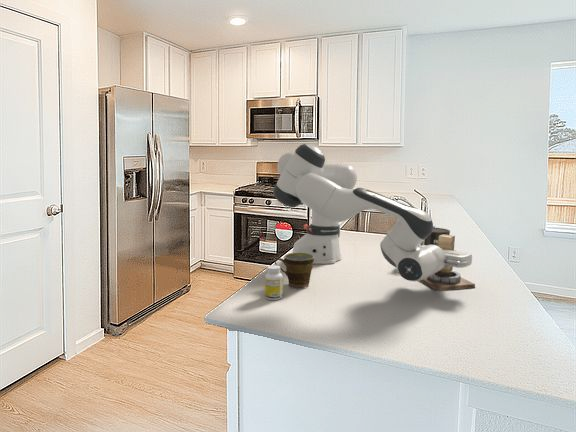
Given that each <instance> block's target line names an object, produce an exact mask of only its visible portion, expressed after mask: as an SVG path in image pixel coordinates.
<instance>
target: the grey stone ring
mask: <svg viewBox="0 0 576 432" xmlns="http://www.w3.org/2000/svg"><path fill="white" fill-rule="evenodd" d="M442 276H448V277H442ZM461 276H462V275H461V273H459V272H457V271H454V270H452V271H450V272H449V273H447V272H442V271H438V272H436V273H435V274H432V275H431V276H429V279H430V280H431V281H433V282H438V283H443V284H456V283H459V282H460V280H461V278H462V277H461Z"/></svg>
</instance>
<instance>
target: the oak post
mask: <svg viewBox="0 0 576 432" xmlns="http://www.w3.org/2000/svg"><path fill="white" fill-rule="evenodd" d="M455 239H456V236H455V235H451V234H450V235H445V234H443V235H440V236H439V240H438V247H440V248H441V249H445V250H451V251H452V250H455ZM453 269H454V267H451V266H446V265H445V266H444V268H443V269H442V270H440V271H442V272H447V273H449V272H450V271H454V270H453Z"/></svg>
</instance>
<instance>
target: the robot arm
mask: <svg viewBox="0 0 576 432" xmlns="http://www.w3.org/2000/svg"><path fill="white" fill-rule="evenodd" d="M325 162H326V158H325V155H324V154H323V152H322V151H321V150H320V148H319V147H317V146H315V145H313V144H306V143H303V144H300V145H299V146H297V148H296V149H295V150H294V152H287V153H283V154H282V155H281V156H280V157H279V159H278V161H277V171H278V173H279V178H278V180H277V183H275V185H274V187H273V191H272V195H273V197H274V199H275V200H276V201H278V203H280V204H281V205H282V206H284V207H285V206H286V207H288V208H295V207H296V208H297V207H298V206H302V205H305V206H306V207H307V208H309V209H310V210H311V223H310V224H309V225H308V224H307V223H306V224H304V225H303V228H304V229H305V230H306V233H305V234H304V235H303V236H301V237H300V238H299V239H298V240H296V241H294V244H293V248H292V253H307V254H311V255H313V256H314V262H313V265H314V264H315V265H317V264H319V265H321V264H325V265H326V264H327V265H329V264H334V263H336V262H338V261H341V260H342V259H343V257H342V254H341V247H340V239H339V238H340V235H341V227H340V223H342V222H345V221H348V220H350V219H351V218H353V217H355V216H356V215H358V214H359V213H361V212H364V211H366V210H375V211H378V212H380V213H383V214H385V215H387V216H389V217H392V218H394V219H396V220H397V221H396V222H395V224H394V225H393V226H392V228H391V229H390V230H389V231H388V232H387V233H386V235H385V236H384V237H383V239H382V240H381V242H380V244H379V245H380V246H379V247H380V251H381V254H382V257H383V258H384V259H385V260H386V261H387V263H389V264H390V265H391V266H393V267H395V269H396V270H397V273H398V275H399V276H400V277H402V278H403V279H404V280H406V281H410V282H419V281H420V280H423V279H425V278H427V277H429V276H431V275H432V274H435V273H436V272H438V271H440V270H442V269H443V268H444V266H445V265H446V266H451V267H453V268H459V269H462V268H466V267H469V266H471V265H472V262H473V255H472V253H469V252H463V251H457V250H455V249H454V250H452V251H451V250H445V249H441V248H440V247H438V246H436V245H427V246H426V245H423V246H420V244H421V243H422V241H423V240H425V239H426V238H427V237H428V236H429V235H430V234H431V233H432V232H433V226H434V221H433V218H432V217H431V215H429V213H427V212H425V210H422V209H420V208H417V207H414V206H410V205H407V204H405V203H402V202H399V201H397V200H395V199H392V198H389V197H388V196H385V195H383V194H381V193H378V192H375V191H373V190H370V189H367V188H364V187H356V185H357V184H356V183H357V181H358V176H357V175H358V174H357V172H356V170H355V168H354V167H353V166H351V165H347V164H342V163H325ZM355 187H356V188H355ZM354 188H355V189H354ZM290 253H291V252H290ZM290 253H288V254H290ZM420 282H421V281H420Z"/></svg>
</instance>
